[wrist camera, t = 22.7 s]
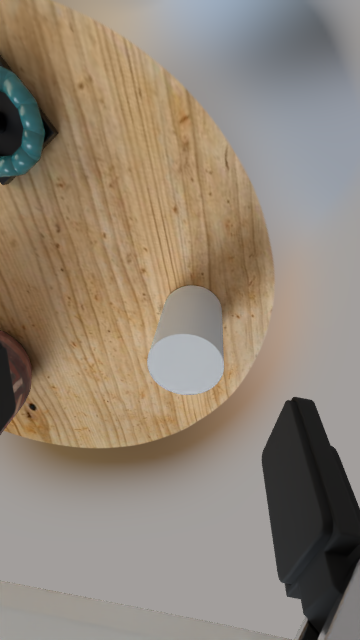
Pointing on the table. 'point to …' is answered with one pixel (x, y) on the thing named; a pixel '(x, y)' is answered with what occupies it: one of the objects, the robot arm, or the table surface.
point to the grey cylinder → (188, 342)
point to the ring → (31, 125)
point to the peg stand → (16, 127)
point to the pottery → (17, 370)
